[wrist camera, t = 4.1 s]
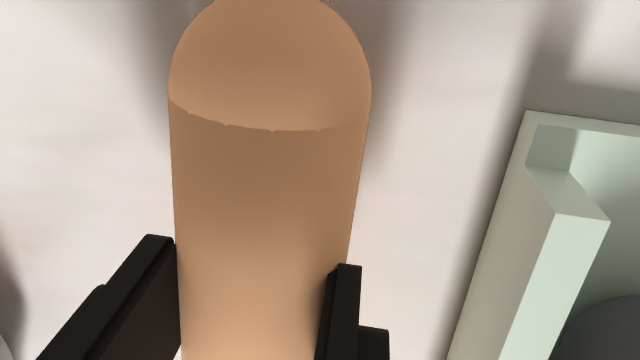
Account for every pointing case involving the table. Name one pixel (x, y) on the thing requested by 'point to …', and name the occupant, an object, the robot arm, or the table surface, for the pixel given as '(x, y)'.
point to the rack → (554, 237)
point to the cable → (4, 350)
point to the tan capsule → (263, 172)
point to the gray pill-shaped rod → (604, 332)
